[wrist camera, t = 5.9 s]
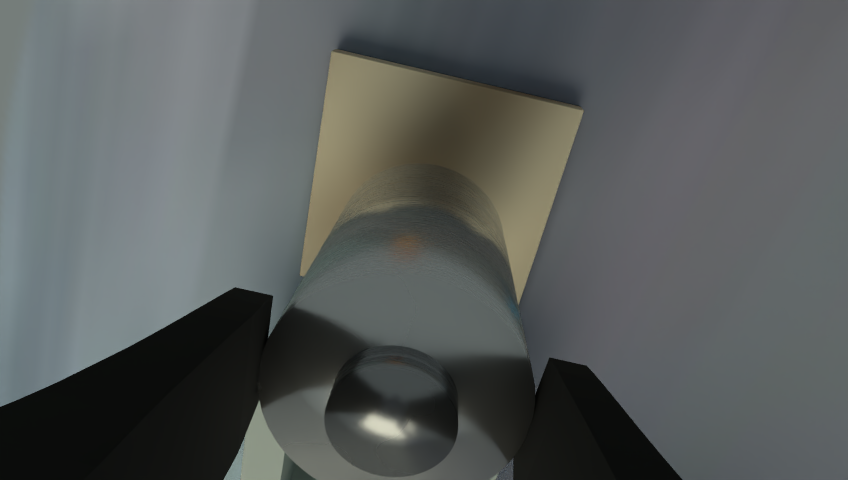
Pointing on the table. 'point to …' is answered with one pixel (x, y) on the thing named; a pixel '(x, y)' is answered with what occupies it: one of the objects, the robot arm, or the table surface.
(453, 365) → the grey cylinder
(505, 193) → the coaster
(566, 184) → the table surface
